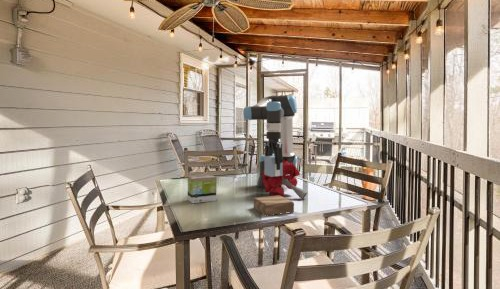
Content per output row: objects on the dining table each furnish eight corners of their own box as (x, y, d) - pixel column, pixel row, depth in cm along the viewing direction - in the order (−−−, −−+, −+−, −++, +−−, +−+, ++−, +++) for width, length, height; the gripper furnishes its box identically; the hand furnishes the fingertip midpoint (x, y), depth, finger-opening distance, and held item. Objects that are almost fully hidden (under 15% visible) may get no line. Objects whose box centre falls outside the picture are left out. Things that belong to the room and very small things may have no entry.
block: (264, 174, 168) (264, 156, 167) (275, 173, 171) (275, 155, 171) (271, 176, 162) (271, 157, 161) (282, 175, 165) (282, 156, 164)
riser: (253, 208, 173) (253, 197, 172) (279, 205, 179) (279, 194, 178) (265, 216, 158) (265, 205, 158) (293, 213, 164) (293, 202, 163)
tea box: (192, 204, 180) (192, 178, 179) (187, 200, 189) (187, 175, 188) (217, 200, 187) (216, 176, 186) (211, 197, 196) (210, 173, 195)
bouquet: (303, 204, 204) (267, 177, 215) (320, 175, 195) (282, 149, 206) (289, 215, 186) (250, 185, 197) (307, 183, 177) (266, 154, 188)
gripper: (258, 130, 172) (258, 172, 174) (277, 132, 154) (277, 178, 156) (270, 130, 175) (270, 171, 177) (290, 132, 157) (289, 177, 159)
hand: (273, 174), depth 167 cm, fingers closed on block, 7 cm apart
